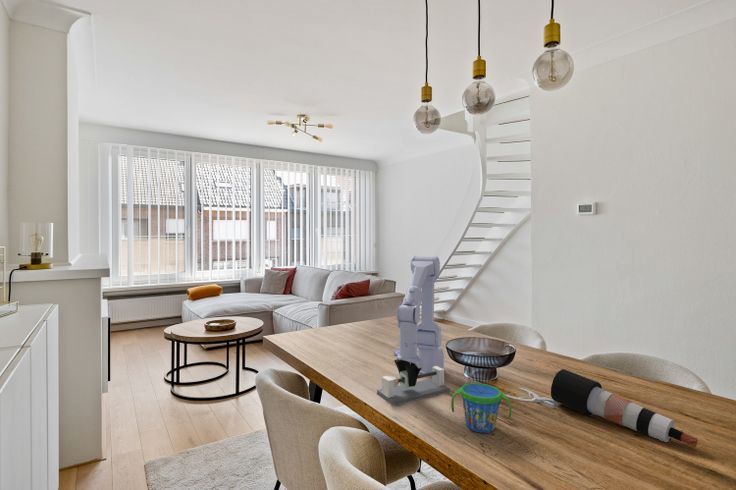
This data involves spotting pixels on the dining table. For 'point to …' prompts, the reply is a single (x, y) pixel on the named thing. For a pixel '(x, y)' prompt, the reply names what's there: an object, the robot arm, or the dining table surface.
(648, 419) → the cable
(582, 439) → the dining table surface
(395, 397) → the cord rig
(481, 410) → the snack cup
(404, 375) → the marker sleeve
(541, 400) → the pliers
